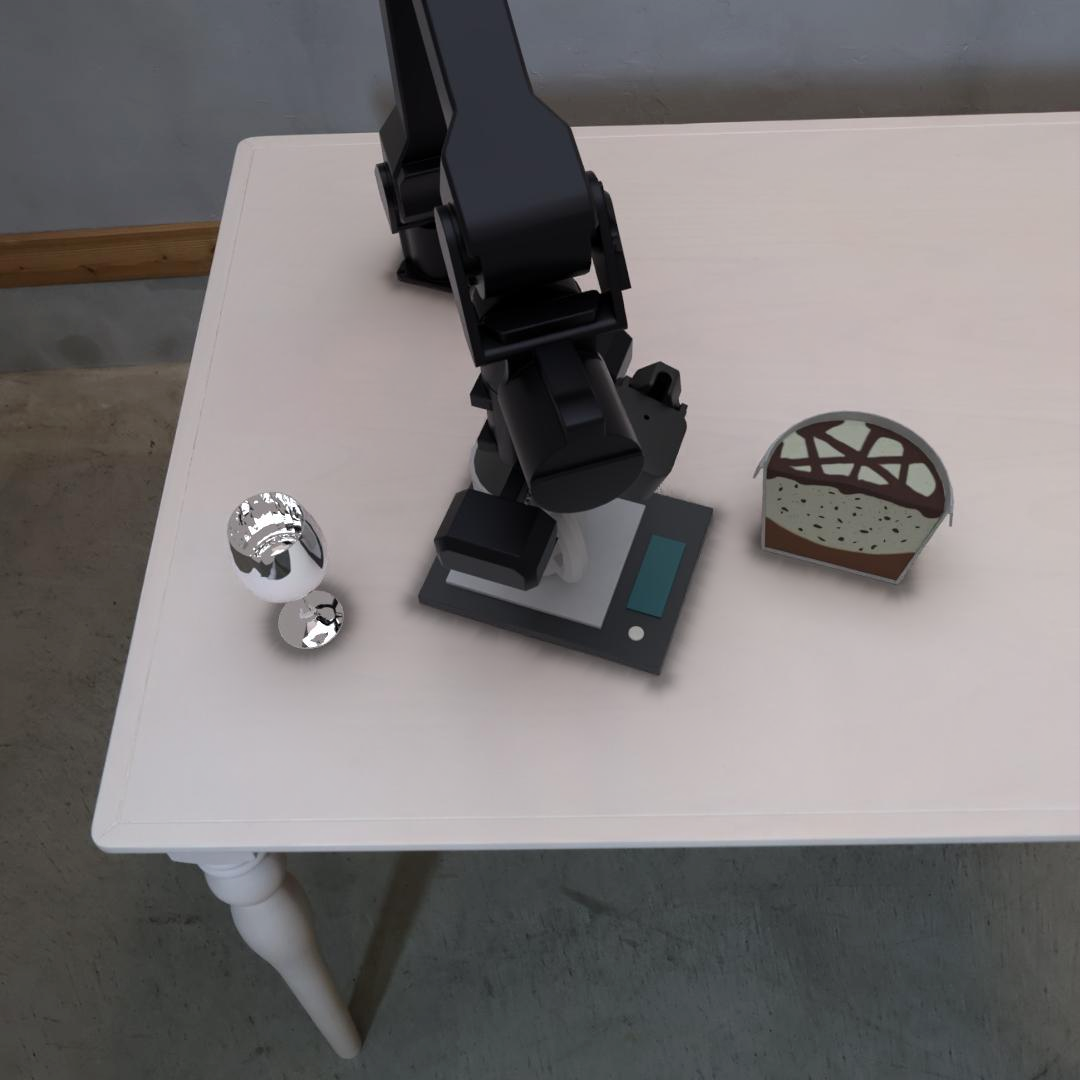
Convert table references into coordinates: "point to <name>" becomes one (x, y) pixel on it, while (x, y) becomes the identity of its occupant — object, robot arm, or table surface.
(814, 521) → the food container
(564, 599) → the scale
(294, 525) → the wineglass
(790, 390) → the table surface
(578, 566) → the cup
